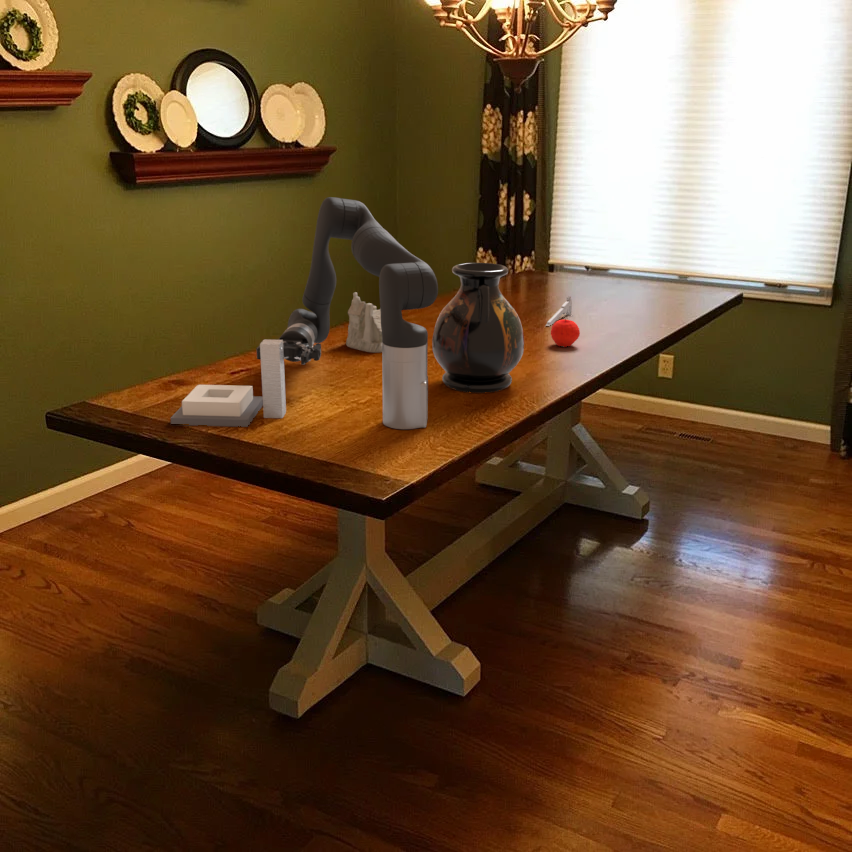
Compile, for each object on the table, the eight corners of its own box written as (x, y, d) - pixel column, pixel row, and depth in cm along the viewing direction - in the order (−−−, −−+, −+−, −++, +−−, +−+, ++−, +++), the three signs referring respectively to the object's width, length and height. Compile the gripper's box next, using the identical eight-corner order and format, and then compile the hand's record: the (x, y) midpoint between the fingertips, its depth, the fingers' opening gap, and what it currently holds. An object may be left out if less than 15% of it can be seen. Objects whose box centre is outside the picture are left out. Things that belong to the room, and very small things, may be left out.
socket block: (264, 402, 207) (263, 383, 206) (247, 426, 192) (246, 405, 190) (193, 401, 208) (191, 381, 206) (171, 424, 193) (169, 404, 191)
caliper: (568, 314, 296) (569, 295, 294) (571, 315, 296) (572, 295, 294) (545, 327, 279) (546, 306, 277) (548, 327, 279) (549, 307, 277)
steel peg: (286, 412, 201) (283, 339, 196) (282, 418, 197) (279, 344, 192) (267, 411, 201) (264, 339, 196) (263, 417, 197) (259, 344, 192)
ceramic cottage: (370, 354, 247) (371, 297, 243) (335, 344, 259) (335, 290, 255) (416, 348, 256) (418, 294, 253) (380, 339, 269) (381, 287, 265)
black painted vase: (529, 397, 212) (535, 275, 203) (435, 399, 211) (436, 275, 202) (514, 371, 233) (519, 259, 223) (428, 372, 231) (429, 259, 222)
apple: (584, 347, 256) (586, 320, 254) (563, 351, 252) (565, 324, 250) (565, 341, 263) (566, 315, 260) (543, 344, 258) (545, 318, 256)
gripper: (266, 325, 221) (250, 342, 206) (326, 327, 220) (314, 344, 205) (267, 356, 224) (252, 375, 208) (327, 357, 223) (315, 377, 208)
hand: (283, 359), depth 207 cm, fingers open, 8 cm apart
